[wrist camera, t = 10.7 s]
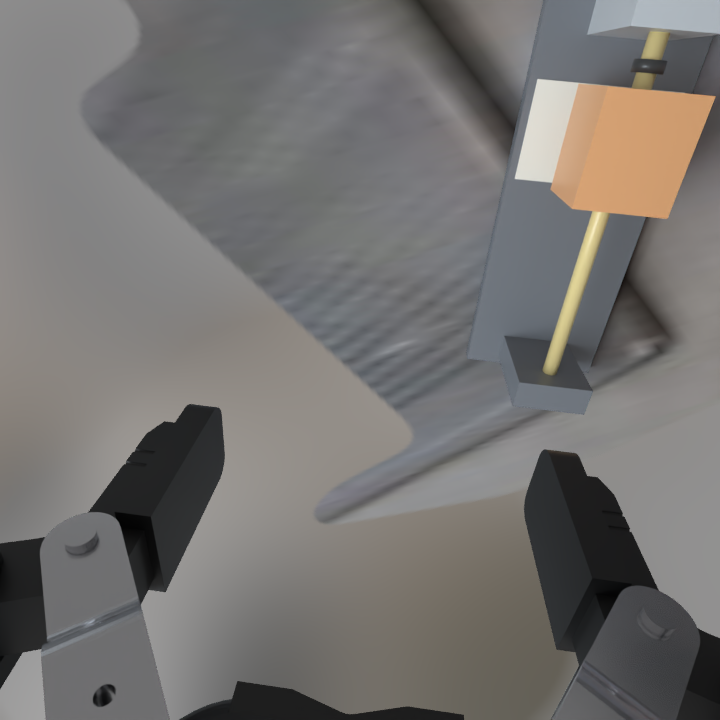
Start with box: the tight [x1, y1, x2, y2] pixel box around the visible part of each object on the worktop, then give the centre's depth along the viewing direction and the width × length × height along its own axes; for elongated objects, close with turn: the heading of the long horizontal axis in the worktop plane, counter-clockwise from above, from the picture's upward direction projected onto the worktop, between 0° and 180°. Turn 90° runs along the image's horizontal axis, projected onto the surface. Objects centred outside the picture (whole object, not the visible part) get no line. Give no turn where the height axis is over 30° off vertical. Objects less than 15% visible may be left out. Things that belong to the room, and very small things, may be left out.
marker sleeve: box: [550, 84, 716, 219], centre depth 28 cm, size 6×5×5 cm
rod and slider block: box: [466, 0, 720, 415], centre depth 32 cm, size 26×10×8 cm, turn 175°
